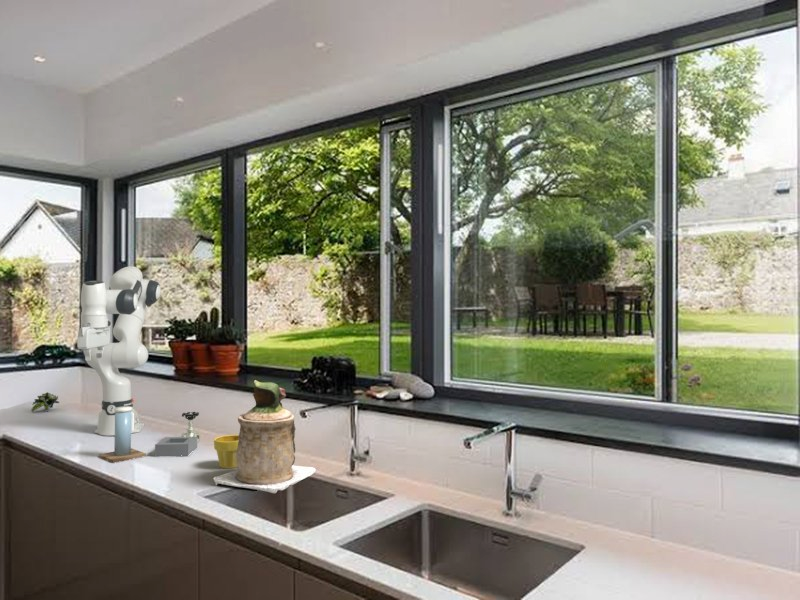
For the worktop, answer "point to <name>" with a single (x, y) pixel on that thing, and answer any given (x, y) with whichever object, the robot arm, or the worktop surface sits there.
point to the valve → (190, 429)
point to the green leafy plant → (45, 401)
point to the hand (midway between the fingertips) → (94, 359)
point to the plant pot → (227, 450)
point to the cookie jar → (266, 445)
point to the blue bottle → (122, 431)
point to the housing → (175, 446)
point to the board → (114, 458)
